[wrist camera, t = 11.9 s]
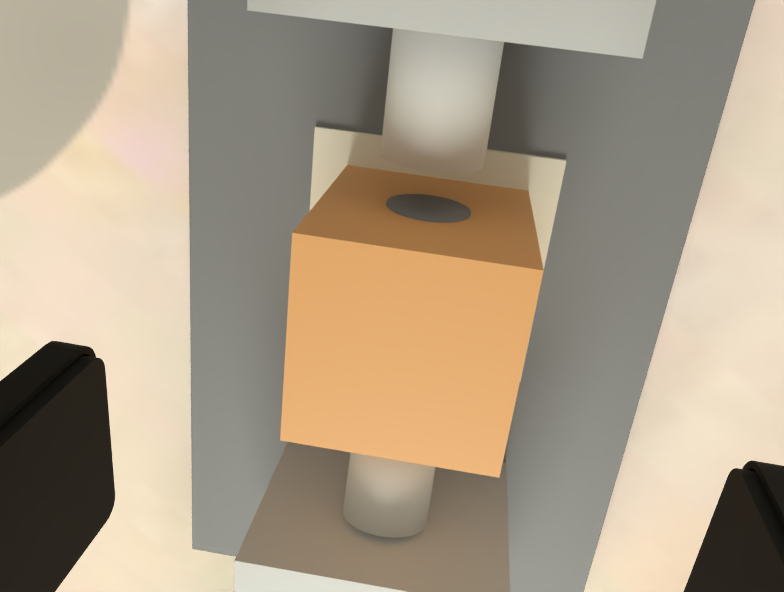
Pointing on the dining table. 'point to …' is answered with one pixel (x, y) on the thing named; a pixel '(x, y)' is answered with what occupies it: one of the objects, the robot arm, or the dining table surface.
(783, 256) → the dining table surface
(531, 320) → the orange block
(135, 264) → the dining table surface
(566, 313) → the shaft rig
